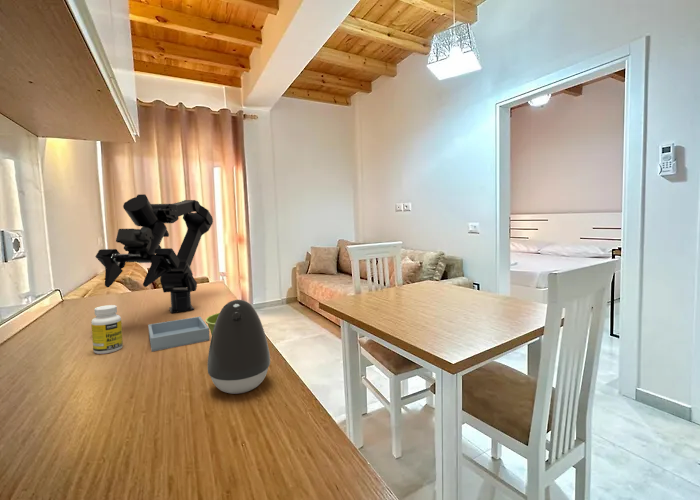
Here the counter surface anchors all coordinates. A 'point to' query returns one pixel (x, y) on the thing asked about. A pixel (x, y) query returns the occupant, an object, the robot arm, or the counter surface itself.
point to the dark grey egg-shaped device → (238, 349)
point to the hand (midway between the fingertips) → (125, 286)
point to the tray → (177, 333)
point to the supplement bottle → (106, 330)
